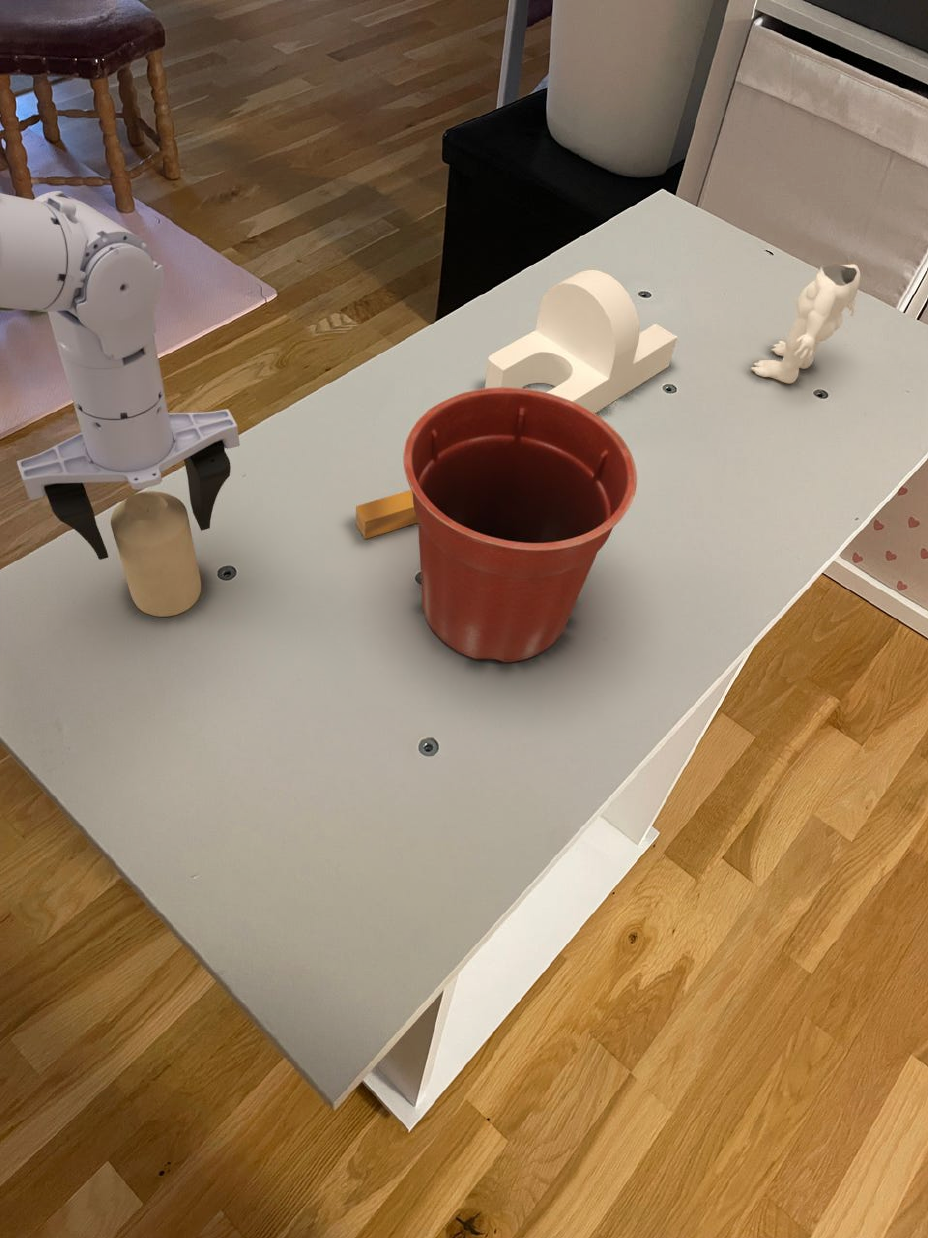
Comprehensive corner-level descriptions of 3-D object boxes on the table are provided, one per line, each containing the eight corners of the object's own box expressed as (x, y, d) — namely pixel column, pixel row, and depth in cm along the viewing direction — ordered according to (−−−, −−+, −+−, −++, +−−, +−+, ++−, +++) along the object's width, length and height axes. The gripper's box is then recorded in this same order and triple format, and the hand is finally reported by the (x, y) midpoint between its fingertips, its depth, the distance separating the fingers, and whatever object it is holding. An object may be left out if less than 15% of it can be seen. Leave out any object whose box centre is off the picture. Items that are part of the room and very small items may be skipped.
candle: (209, 569, 82) (193, 482, 74) (191, 622, 78) (172, 535, 70) (143, 561, 82) (120, 472, 74) (122, 613, 78) (95, 526, 70)
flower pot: (595, 544, 87) (635, 400, 74) (594, 699, 77) (640, 562, 64) (409, 522, 87) (417, 374, 74) (384, 674, 77) (388, 532, 64)
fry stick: (365, 539, 85) (365, 521, 83) (355, 523, 86) (355, 506, 84) (506, 495, 90) (509, 477, 88) (496, 480, 91) (498, 463, 89)
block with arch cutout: (598, 321, 108) (619, 227, 99) (668, 366, 104) (696, 272, 95) (481, 388, 99) (493, 291, 90) (553, 440, 95) (572, 344, 86)
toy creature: (787, 332, 109) (828, 232, 100) (837, 356, 107) (883, 257, 98) (735, 382, 103) (773, 280, 94) (787, 408, 101) (831, 307, 92)
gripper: (14, 459, 59) (66, 602, 70) (246, 401, 64) (262, 543, 75) (-10, 388, 63) (43, 534, 74) (211, 339, 68) (231, 483, 79)
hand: (151, 535), depth 75 cm, fingers open, 7 cm apart
